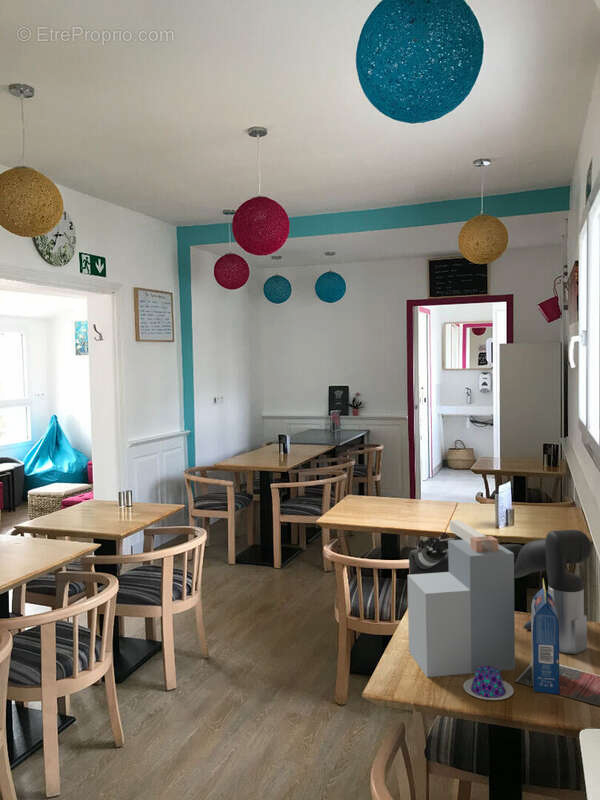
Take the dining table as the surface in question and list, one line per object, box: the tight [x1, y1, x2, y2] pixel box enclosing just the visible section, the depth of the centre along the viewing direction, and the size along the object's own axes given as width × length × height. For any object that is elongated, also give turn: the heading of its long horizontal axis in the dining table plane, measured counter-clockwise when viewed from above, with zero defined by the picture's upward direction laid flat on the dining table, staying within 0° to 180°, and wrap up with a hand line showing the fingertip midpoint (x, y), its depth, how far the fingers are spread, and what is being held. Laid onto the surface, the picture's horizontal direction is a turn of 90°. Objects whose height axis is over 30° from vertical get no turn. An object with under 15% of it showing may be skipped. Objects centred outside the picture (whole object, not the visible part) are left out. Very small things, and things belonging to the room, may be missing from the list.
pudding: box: [462, 666, 515, 701], centre depth 168 cm, size 12×12×5 cm
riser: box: [407, 540, 516, 678], centre depth 184 cm, size 16×24×31 cm, turn 98°
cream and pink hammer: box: [449, 519, 499, 552], centre depth 191 cm, size 24×6×3 cm, turn 8°
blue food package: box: [530, 578, 560, 695], centre depth 170 cm, size 6×12×25 cm, turn 163°
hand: (446, 538), depth 210 cm, fingers open, 8 cm apart
